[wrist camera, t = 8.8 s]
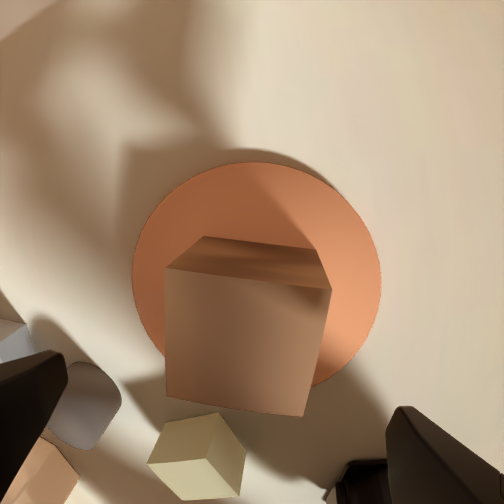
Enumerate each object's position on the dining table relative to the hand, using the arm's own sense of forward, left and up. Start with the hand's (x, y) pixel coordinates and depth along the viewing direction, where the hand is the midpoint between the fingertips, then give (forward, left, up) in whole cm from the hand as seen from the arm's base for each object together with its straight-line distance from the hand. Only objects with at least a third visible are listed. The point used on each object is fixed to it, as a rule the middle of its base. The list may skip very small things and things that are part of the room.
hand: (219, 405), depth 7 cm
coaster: (0, 0, -9) cm, 9 cm away
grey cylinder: (+10, +9, -9) cm, 16 cm away
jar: (+19, +22, -9) cm, 30 cm away
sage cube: (+2, +11, -9) cm, 14 cm away
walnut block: (0, 0, -8) cm, 8 cm away
